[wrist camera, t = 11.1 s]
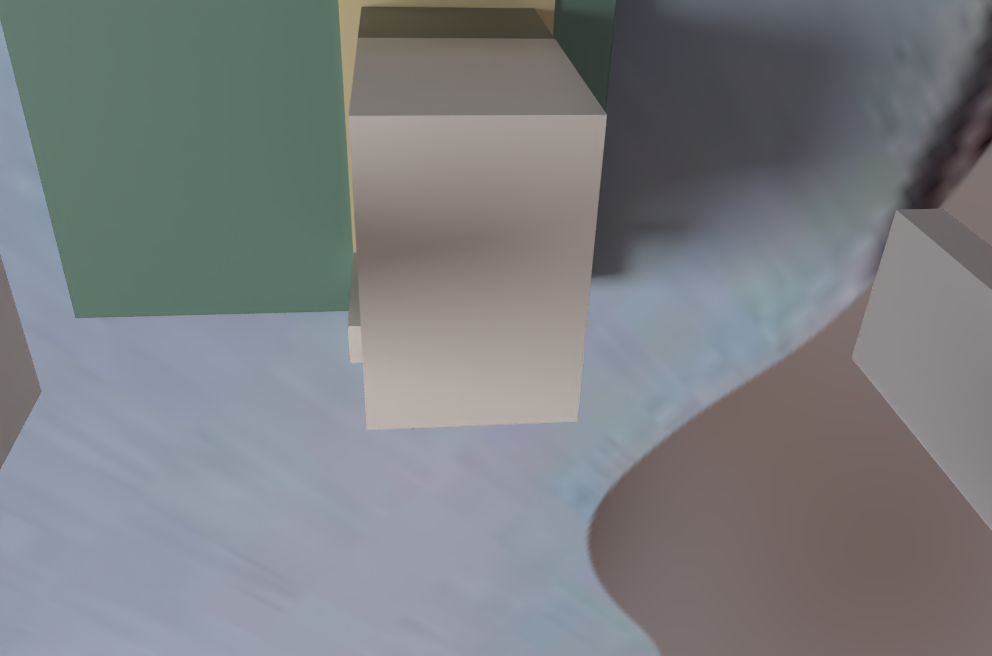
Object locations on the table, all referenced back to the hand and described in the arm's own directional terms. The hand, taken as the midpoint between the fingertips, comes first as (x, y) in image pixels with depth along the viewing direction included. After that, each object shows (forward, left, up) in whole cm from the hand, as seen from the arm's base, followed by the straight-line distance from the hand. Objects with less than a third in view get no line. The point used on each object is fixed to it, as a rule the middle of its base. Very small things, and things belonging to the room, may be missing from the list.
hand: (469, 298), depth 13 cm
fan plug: (+1, 0, -10) cm, 10 cm away
